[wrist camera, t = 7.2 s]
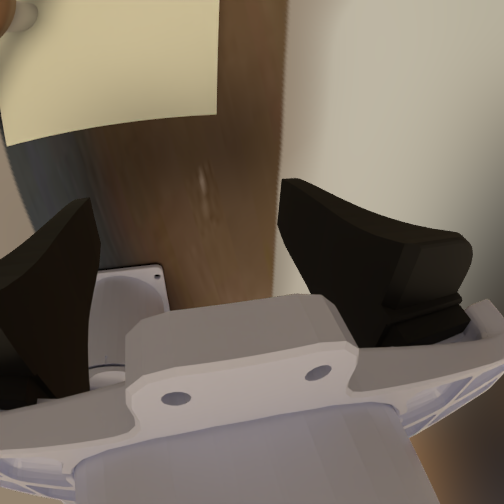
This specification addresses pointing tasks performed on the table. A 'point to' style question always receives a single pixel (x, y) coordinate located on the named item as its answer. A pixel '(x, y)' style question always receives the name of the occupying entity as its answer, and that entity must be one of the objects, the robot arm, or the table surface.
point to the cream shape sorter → (106, 64)
